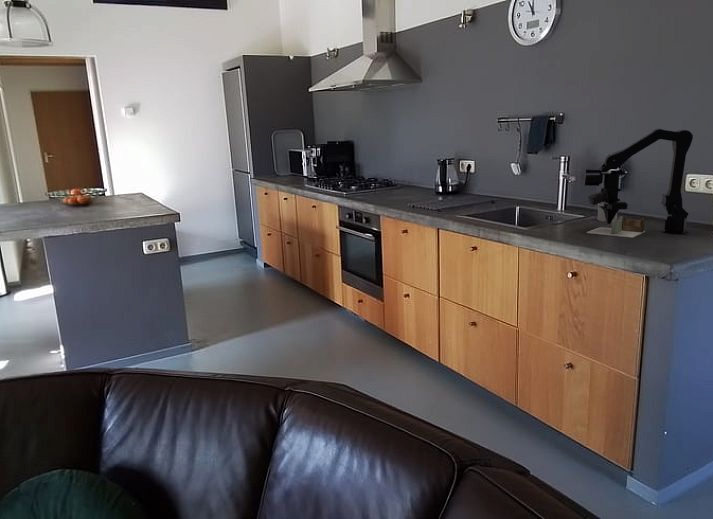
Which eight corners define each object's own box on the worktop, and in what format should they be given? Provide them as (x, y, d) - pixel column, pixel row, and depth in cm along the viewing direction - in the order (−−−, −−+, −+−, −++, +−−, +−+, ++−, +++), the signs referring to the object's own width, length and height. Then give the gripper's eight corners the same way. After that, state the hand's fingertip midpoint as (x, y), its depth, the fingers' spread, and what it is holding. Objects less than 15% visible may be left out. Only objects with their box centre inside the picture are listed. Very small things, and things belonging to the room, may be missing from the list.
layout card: (645, 231, 220) (645, 231, 220) (632, 237, 211) (632, 237, 211) (599, 227, 233) (599, 226, 233) (586, 233, 223) (586, 232, 223)
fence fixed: (643, 232, 219) (644, 218, 218) (642, 233, 218) (643, 218, 217) (619, 230, 225) (620, 216, 224) (618, 230, 225) (619, 216, 223)
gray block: (600, 218, 255) (602, 192, 252) (619, 219, 250) (620, 193, 247) (595, 220, 249) (596, 194, 246) (614, 222, 244) (615, 195, 241)
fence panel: (618, 229, 224) (619, 216, 223) (621, 230, 223) (622, 216, 222) (611, 233, 218) (612, 219, 217) (614, 233, 217) (615, 219, 216)
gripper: (582, 184, 230) (580, 220, 234) (600, 189, 212) (598, 228, 216) (609, 183, 230) (606, 219, 233) (629, 188, 211) (626, 227, 215)
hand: (608, 223), depth 224 cm, fingers closed
